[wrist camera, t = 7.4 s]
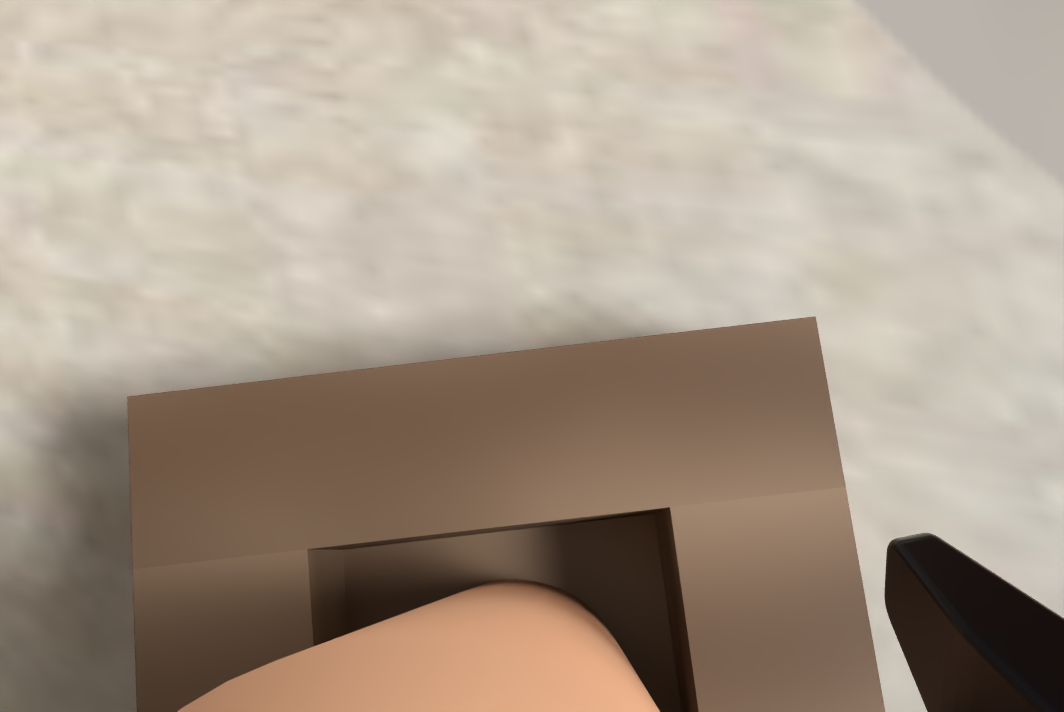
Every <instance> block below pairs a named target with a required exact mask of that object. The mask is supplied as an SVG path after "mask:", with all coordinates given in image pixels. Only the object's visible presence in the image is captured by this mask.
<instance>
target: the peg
mask: <svg viewBox="0 0 1064 712" xmlns="http://www.w3.org/2000/svg"><path fill="white" fill-rule="evenodd" d="M177 712H660V711H659V709H658V708H657V706H656V704H655V703H654V701H653V699H652V698H651V696H650V695H649V693H648V691H647V690H646V688H645V687H644V685H643V683H642V682H641V680H640V678H639V677H638V675H637V674H636V672H635V670H634V669H633V667H632V666H631V664H630V662H629V661H628V659H627V657H626V656H625V654H624V653H623V651H622V649H621V648H620V646H619V644H618V643H617V641H616V640H615V638H614V636H613V635H612V633H611V632H610V630H609V629H608V628H607V626H606V625H605V624H604V622H603V621H602V620H601V619H600V618H599V616H598V615H597V614H596V613H595V612H594V611H593V610H592V609H591V608H589V607H588V606H587V605H586V604H584V603H583V602H582V601H580V600H579V599H578V598H576V597H574V596H573V595H571V594H569V593H568V592H566V591H564V590H561V589H559V588H557V587H554V586H552V585H548V584H545V583H541V582H537V581H530V580H523V579H510V580H500V581H493V582H489V583H486V584H482V585H479V586H476V587H473V588H470V589H468V590H465V591H462V592H460V593H457V594H454V595H452V596H449V597H446V598H443V599H441V600H438V601H435V602H433V603H430V604H427V605H425V606H422V607H419V608H416V609H414V610H411V611H408V612H406V613H403V614H400V615H398V616H395V617H392V618H389V619H387V620H384V621H381V622H379V623H376V624H373V625H371V626H368V627H365V628H362V629H360V630H357V631H354V632H352V633H349V634H346V635H344V636H341V637H338V638H335V639H333V640H330V641H327V642H325V643H322V644H319V645H317V646H314V647H311V648H308V649H306V650H303V651H300V652H298V653H295V654H292V655H290V656H287V657H284V658H282V659H279V660H276V661H274V662H271V663H269V664H267V665H264V666H262V667H260V668H257V669H255V670H253V671H250V672H248V673H245V674H243V675H241V676H238V677H236V678H234V679H231V680H229V681H227V682H225V683H223V684H222V685H220V686H218V687H217V688H215V689H213V690H212V691H210V692H208V693H207V694H205V695H203V696H201V697H200V698H198V699H196V700H195V701H193V702H191V703H190V704H188V705H186V706H184V707H183V708H181V709H180V710H179V711H177Z"/></svg>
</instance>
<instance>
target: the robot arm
mask: <svg viewBox="0 0 1064 712" xmlns="http://www.w3.org/2000/svg"><path fill="white" fill-rule="evenodd" d="M885 604H886V609H887V613H888V616H889V619H890V621H891V624H892V626H893V629H894V631H895V634H896V636H897V639H898V641H899V643H900V646H901V648H902V651H903V653H904V656H905V658H906V660H907V663H908V665H909V668H910V670H911V673H912V675H913V677H914V680H915V682H916V685H917V687H918V690H919V692H920V694H921V697H922V699H923V702H924V704H925V707H926V709H927V711H928V712H1064V618H1063V617H1061V616H1059V615H1058V614H1056V613H1055V612H1053V611H1052V610H1050V609H1049V608H1047V607H1046V606H1044V605H1043V604H1041V603H1039V602H1038V601H1036V600H1035V599H1033V598H1032V597H1030V596H1029V595H1027V594H1026V593H1024V592H1022V591H1021V590H1019V589H1018V588H1016V587H1015V586H1013V585H1012V584H1010V583H1009V582H1007V581H1005V580H1004V579H1002V578H1001V577H999V576H998V575H996V574H995V573H993V572H992V571H990V570H988V569H987V568H985V567H984V566H982V565H981V564H979V563H978V562H976V561H975V560H973V559H972V558H970V557H968V556H967V555H965V554H964V553H962V552H961V551H959V550H958V549H956V548H955V547H953V546H951V545H950V544H948V543H947V542H945V541H944V540H942V539H941V538H939V537H937V536H936V535H933V534H930V533H921V534H916V535H911V536H906V537H902V538H897V539H894V540H892V541H891V542H890V543H889V545H888V548H887V558H886V577H885Z"/></svg>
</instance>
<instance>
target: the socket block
mask: <svg viewBox="0 0 1064 712" xmlns="http://www.w3.org/2000/svg"><path fill="white" fill-rule="evenodd" d="M127 399H128V432H129V465H130V498H131V531H132V564H133V596H134V629H135V662H136V695H137V712H177V711H179V710H180V709H181V708H183V707H184V706H186V705H188V704H190V703H191V702H193V701H195V700H196V699H198V698H200V697H201V696H203V695H205V694H207V693H208V692H210V691H212V690H213V689H215V688H217V687H218V686H220V685H222V684H223V683H225V682H227V681H229V680H231V679H234V678H236V677H238V676H241V675H243V674H245V673H248V672H250V671H253V670H255V669H257V668H260V667H262V666H264V665H267V664H269V663H271V662H274V661H276V660H279V659H282V658H284V657H287V656H290V655H292V654H295V653H298V652H300V651H303V650H306V649H308V648H311V647H314V646H317V645H319V644H322V643H325V642H327V641H330V640H333V639H335V638H338V637H341V636H344V635H346V634H349V633H352V632H354V631H357V630H360V629H362V628H365V627H368V626H371V625H373V624H376V623H379V622H381V621H384V620H387V619H389V618H392V617H395V616H398V615H400V614H403V613H406V612H408V611H411V610H414V609H416V608H419V607H422V606H425V605H427V604H430V603H433V602H435V601H438V600H441V599H443V598H446V597H449V596H452V595H454V594H457V593H460V592H462V591H465V590H468V589H470V588H473V587H476V586H479V585H482V584H486V583H489V582H493V581H500V580H510V579H523V580H530V581H537V582H541V583H545V584H548V585H552V586H554V587H557V588H559V589H561V590H564V591H566V592H568V593H569V594H571V595H573V596H574V597H576V598H578V599H579V600H580V601H582V602H583V603H584V604H586V605H587V606H588V607H589V608H591V609H592V610H593V611H594V612H595V613H596V614H597V615H598V616H599V618H600V619H601V620H602V621H603V622H604V624H605V625H606V626H607V628H608V629H609V630H610V632H611V633H612V635H613V636H614V638H615V640H616V641H617V643H618V644H619V646H620V648H621V649H622V651H623V653H624V654H625V656H626V657H627V659H628V661H629V662H630V664H631V666H632V667H633V669H634V670H635V672H636V674H637V675H638V677H639V678H640V680H641V682H642V683H643V685H644V687H645V688H646V690H647V691H648V693H649V695H650V696H651V698H652V699H653V701H654V703H655V704H656V706H657V708H658V709H659V711H660V712H885V708H884V702H883V696H882V691H881V685H880V679H879V674H878V668H877V662H876V657H875V651H874V645H873V640H872V634H871V628H870V623H869V617H868V611H867V606H866V600H865V594H864V589H863V583H862V577H861V572H860V566H859V560H858V555H857V549H856V543H855V538H854V532H853V526H852V521H851V515H850V509H849V504H848V498H847V492H846V487H845V481H844V475H843V470H842V464H841V458H840V453H839V447H838V441H837V436H836V430H835V424H834V419H833V413H832V407H831V402H830V396H829V390H828V385H827V379H826V373H825V368H824V362H823V356H822V351H821V345H820V339H819V334H818V328H817V322H816V317H807V318H798V319H790V320H781V321H773V322H764V323H756V324H747V325H738V326H730V327H721V328H713V329H704V330H695V331H687V332H678V333H670V334H661V335H653V336H644V337H635V338H627V339H618V340H610V341H601V342H592V343H584V344H575V345H567V346H558V347H550V348H541V349H532V350H524V351H515V352H507V353H498V354H490V355H481V356H472V357H464V358H455V359H447V360H438V361H429V362H421V363H412V364H404V365H395V366H387V367H378V368H369V369H361V370H352V371H344V372H335V373H327V374H318V375H309V376H301V377H292V378H284V379H275V380H266V381H258V382H249V383H241V384H232V385H224V386H215V387H206V388H198V389H189V390H181V391H172V392H163V393H155V394H146V395H138V396H129V397H127Z"/></svg>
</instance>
